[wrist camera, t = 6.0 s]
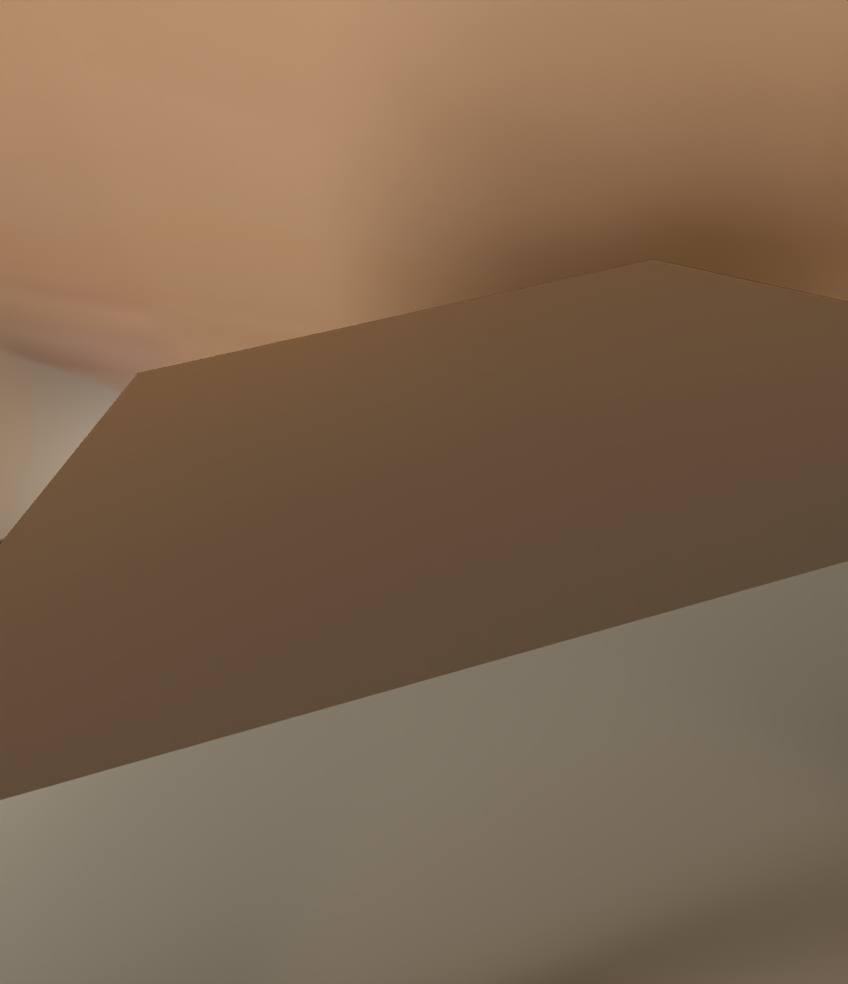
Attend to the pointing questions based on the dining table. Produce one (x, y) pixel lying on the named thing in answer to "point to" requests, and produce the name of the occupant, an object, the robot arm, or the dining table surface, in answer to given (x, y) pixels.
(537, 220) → the dining table surface
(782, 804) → the matte grey cube
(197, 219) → the dining table surface
